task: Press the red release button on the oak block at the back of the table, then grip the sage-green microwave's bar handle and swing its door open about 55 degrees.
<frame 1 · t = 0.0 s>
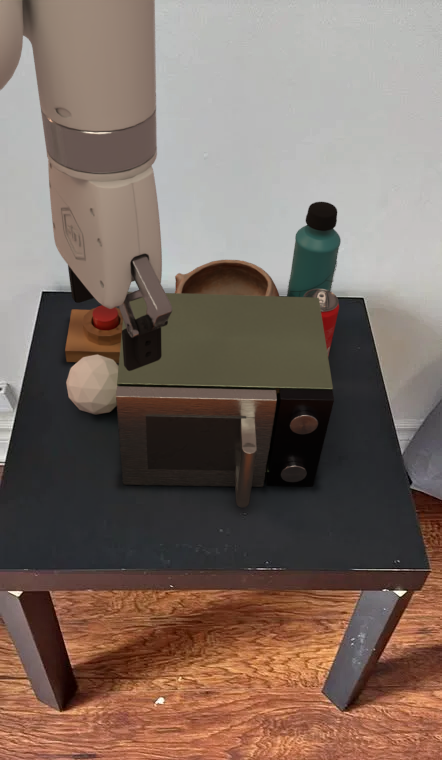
hand: (115, 328, 64), 32 cm above the table, tool pointing down, fingers open, 9 cm apart
beverage bottle: (302, 327, 115), on the table
geometric ball: (98, 405, 102), on the table
microwave door: (195, 457, 87), point 8 cm above the table, hinge at 0.0°
release button: (105, 317, 106), point 5 cm above the table, slide at 0.1 cm
beverage can: (307, 367, 109), on the table
microwave: (217, 429, 100), on the table
bowl: (224, 338, 112), on the table
button block: (107, 341, 110), on the table
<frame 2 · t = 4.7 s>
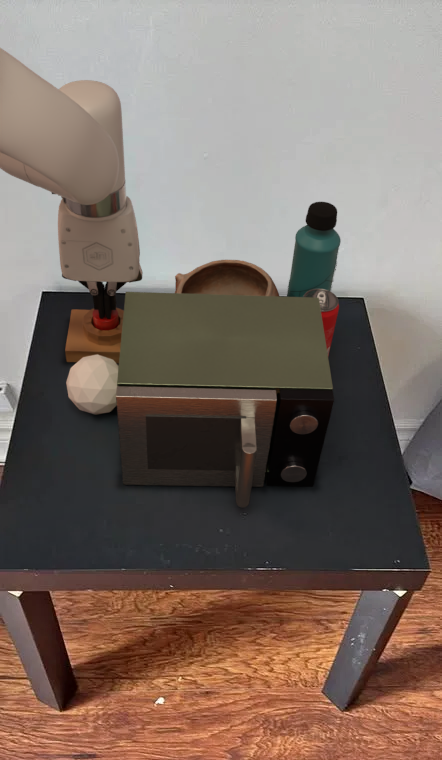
hand: (105, 312, 106), 5 cm above the table, tool pointing down, fingers closed
release button: (105, 317, 106), point 5 cm above the table, slide at 0.1 cm, touching gripper
everything else where it was.
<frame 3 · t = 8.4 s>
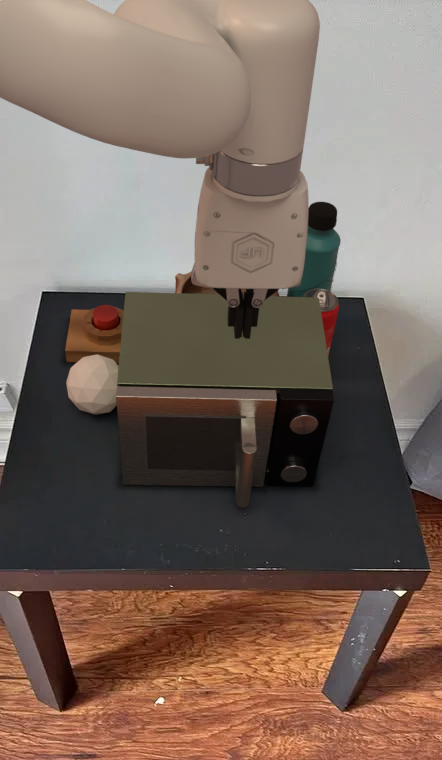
hand: (241, 329, 78), 23 cm above the table, tool pointing down, fingers closed
release button: (105, 317, 106), point 5 cm above the table, slide at 0.1 cm
everything else where it was.
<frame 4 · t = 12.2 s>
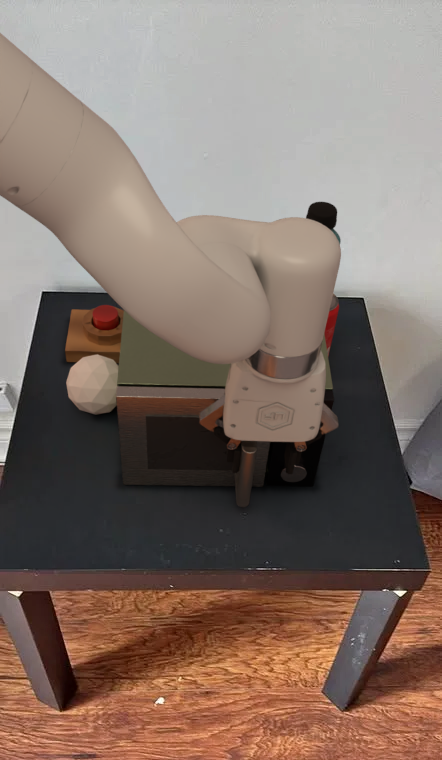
hand: (261, 463, 87), 8 cm above the table, tool pointing down, fingers open, 5 cm apart
microwave door: (195, 457, 87), point 8 cm above the table, hinge at -0.1°, touching gripper
everything else where it was.
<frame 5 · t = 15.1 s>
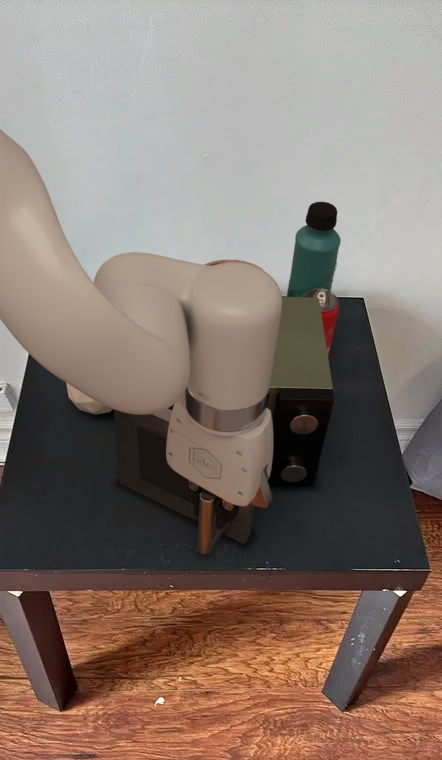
hand: (214, 512, 82), 8 cm above the table, tool pointing down, fingers closed
microwave door: (172, 484, 84), point 8 cm above the table, hinge at 30.0°, touching gripper
everything else where it was.
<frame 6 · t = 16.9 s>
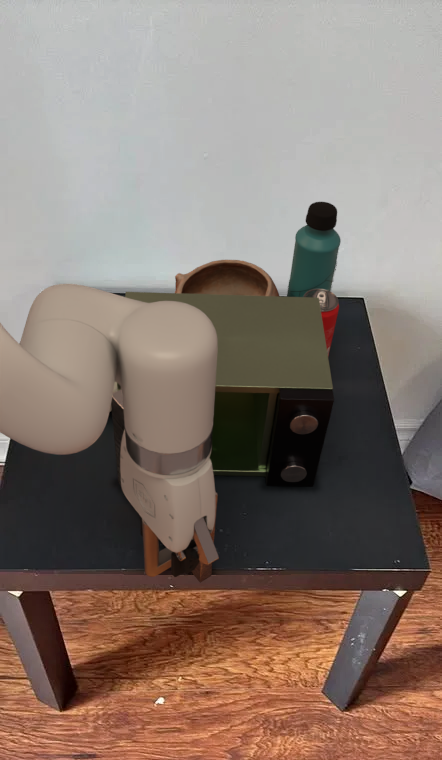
hand: (169, 548, 79), 8 cm above the table, tool pointing down, fingers open, 5 cm apart
microwave door: (142, 498, 83), point 8 cm above the table, hinge at 54.4°
everything else where it was.
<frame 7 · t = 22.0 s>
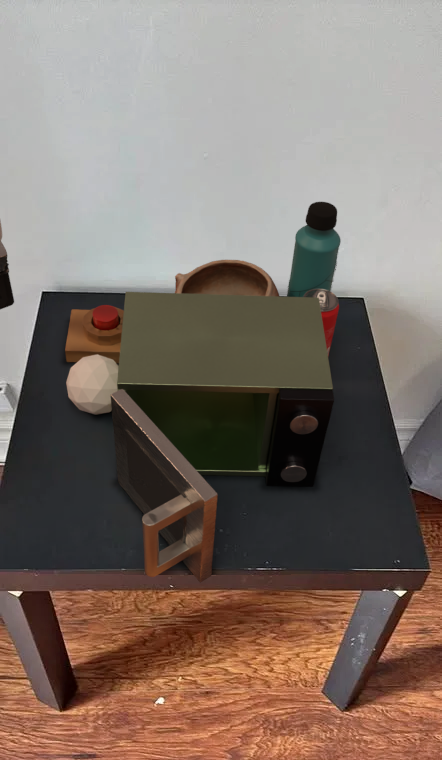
nothing on the table moved.
at the end: release button pushed in 1.1 cm at the most during the clip, back to where it started at the end; release button slide at 0.1 cm; microwave door at +54° (first picture: +0°) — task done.
